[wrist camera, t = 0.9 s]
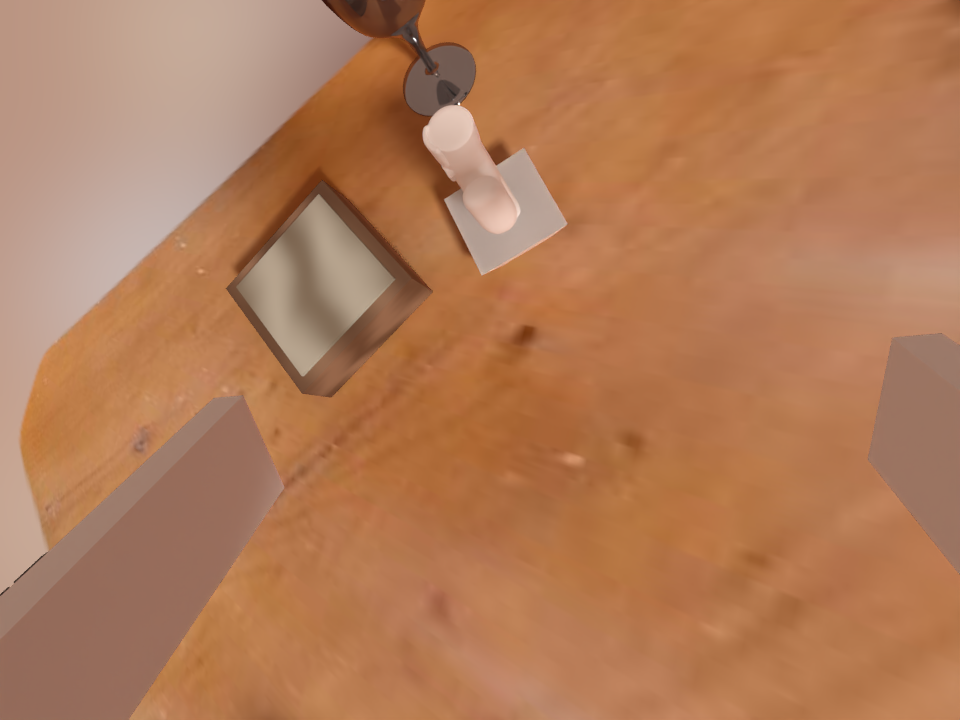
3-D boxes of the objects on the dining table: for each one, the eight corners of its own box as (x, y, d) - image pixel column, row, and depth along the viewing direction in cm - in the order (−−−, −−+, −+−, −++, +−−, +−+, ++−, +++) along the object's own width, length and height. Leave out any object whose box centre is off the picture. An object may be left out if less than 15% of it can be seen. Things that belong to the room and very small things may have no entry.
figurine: (529, 160, 43) (465, 26, 29) (582, 253, 41) (540, 155, 27) (455, 207, 45) (361, 102, 31) (501, 299, 42) (422, 231, 28)
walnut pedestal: (348, 199, 49) (320, 178, 45) (432, 291, 44) (409, 277, 40) (258, 299, 50) (223, 287, 46) (331, 397, 46) (299, 393, 42)
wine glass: (497, 72, 45) (424, -92, 31) (430, 137, 47) (331, 8, 33) (446, 22, 48) (358, -152, 34) (384, 85, 49) (273, -57, 35)
